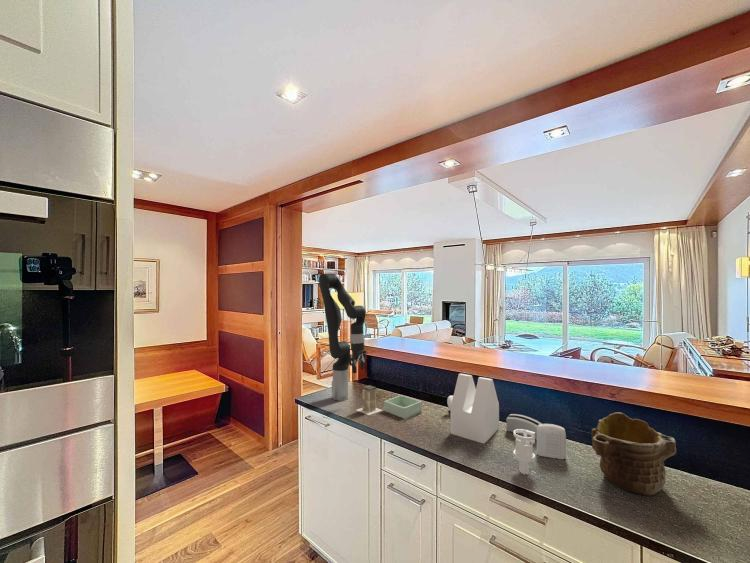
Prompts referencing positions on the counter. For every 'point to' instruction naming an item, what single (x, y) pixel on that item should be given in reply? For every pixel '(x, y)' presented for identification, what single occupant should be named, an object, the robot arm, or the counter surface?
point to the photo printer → (551, 441)
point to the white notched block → (474, 409)
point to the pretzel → (449, 401)
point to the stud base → (368, 412)
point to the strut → (369, 398)
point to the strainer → (524, 449)
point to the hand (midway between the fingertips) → (358, 371)
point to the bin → (403, 407)
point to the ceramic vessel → (632, 453)
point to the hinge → (522, 424)
